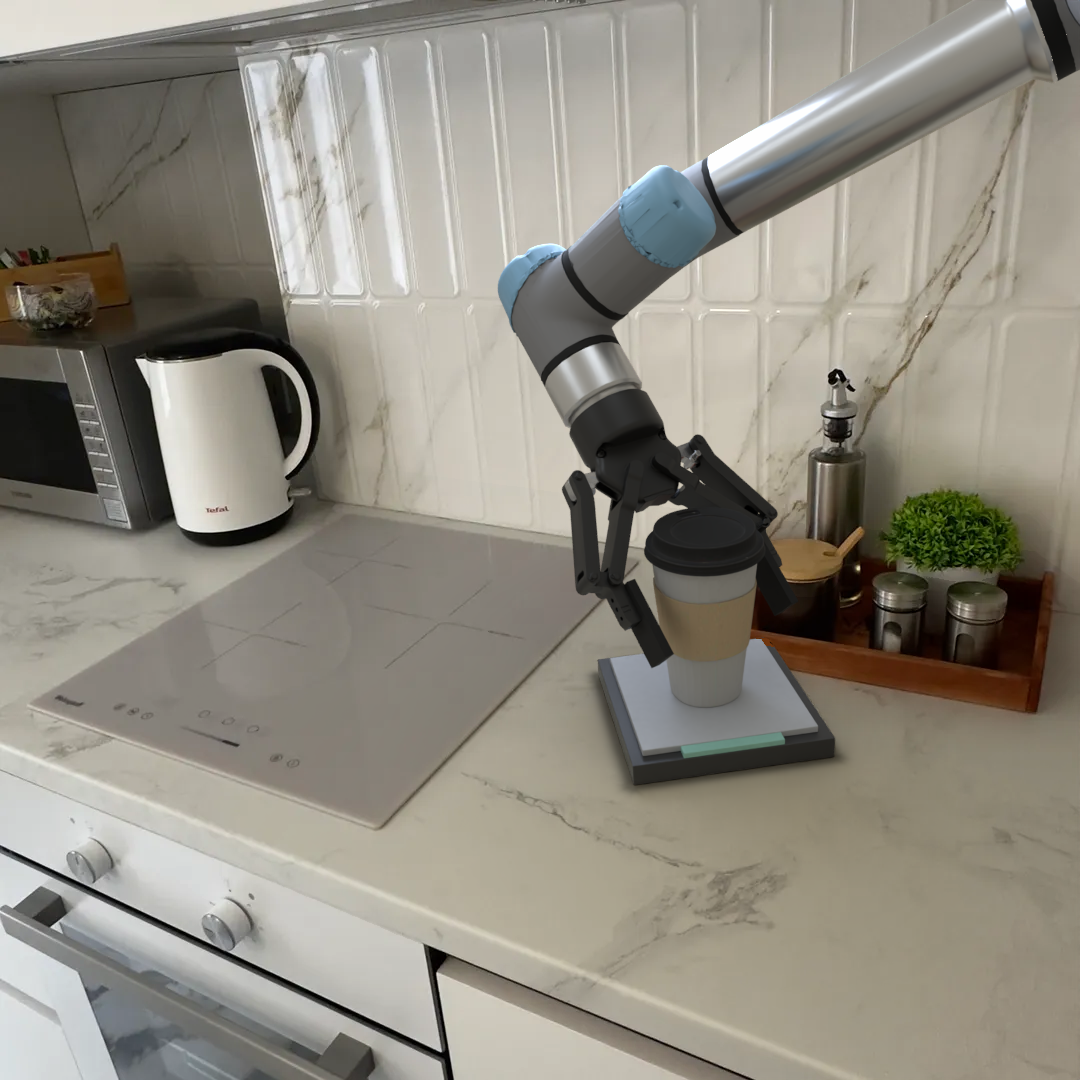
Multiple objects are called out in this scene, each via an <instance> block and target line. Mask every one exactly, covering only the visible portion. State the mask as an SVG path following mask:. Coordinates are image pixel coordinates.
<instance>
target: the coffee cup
mask: <svg viewBox="0 0 1080 1080" xmlns="http://www.w3.org/2000/svg"><path fill="white" fill-rule="evenodd" d="M644 544H645V546H644V548H643V554H644V557H645V559H646V560H647V562H648V563H650V564H651V565H652V566H651V567H652V572H653V578H652V581H653V582H652V585H653V586H652V587H653V591H654V598H655V606H656V612H657V620H658V624H659V626H660V628H661V630H662V632H663V634H664V636H665V638H666V639H667V641H668V643H669V645H670V647H671V649H672V651H673V653H674V654H673V655H672V656H671V657H669V658H668V659H667V660H666V661H667V667H668V674H669V680H670V687H671V690H672V693H673V694H674V695H675V697H677V698H678V699H679V700H680V701H682V702H683V703H685V704H688V705H690V706H694V707H701V708H710V707H717V706H721V705H725V704H727V703H730V702H732V701H733V700H735V699H736V698H737V697H738V696H739V695H740V693H741V688H742V681H743V673H744V665H745V658H746V650H747V646H748V644H749V641H750V639H751V632H752V625H753V618H754V617H753V616H754V609H755V608H754V607H755V601H756V593H757V586H758V585H757V582H756V578H755V577H756V569H757V563H758V562H760V561H761V560H762V559H763V557H764V555H765V552H766V548H765V545H764V539H763V536H762V535H761V533H760V532H759V531H758V530H756V526H755V524H754V522H753V520H752V519H751V518H749V517H748V516H746V515H744V514H742V513H740V512H737V511H734V510H730V509H724V508H716V507H696V508H682V509H678V510H674V511H672V512H668V513H666V514H664V515H662V516H661V517H659V518H658V519H657V520H656V521H655V522H654V524H653V527H652V531H651V532H650V533H648V535H647V536H646V538H645V541H644Z"/></svg>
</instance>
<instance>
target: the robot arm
mask: <svg viewBox="0 0 1080 1080" xmlns="http://www.w3.org/2000/svg"><path fill="white" fill-rule="evenodd" d="M1041 28H1042V29H1041ZM1042 31H1043V32H1042ZM1043 34H1044V35H1043ZM1066 34H1067V35H1066ZM1044 36H1045V38H1044ZM1051 56H1052V57H1051ZM1052 59H1053V61H1052ZM1078 71H1080V0H970V1H969V2H966V3H965V4H964V5H962V6H960V7H958V8H956V9H955V10H953V11H951V12H949V13H948V14H946V15H945V16H942V17H941V18H939V19H938V20H936V21H934V22H933V23H930V24H929V25H928V26H926V27H924V28H922V29H921V30H919V31H917V32H916V33H914V34H913V35H911V36H909V37H907V38H906V39H904V40H902V41H901V42H899V43H898V44H896V45H894V46H892V47H891V48H889V49H886V50H885V51H884V52H882V53H880V54H879V55H877V56H875V57H874V58H872V59H869V61H866V62H865V63H864V64H862V65H860V66H858V67H857V68H854V69H853V70H852V71H850V72H848V73H847V74H845V75H843V76H842V77H840V78H838V79H836V80H835V81H833V82H831V83H829V84H828V85H826V86H825V87H822V88H821V89H820V90H817V91H816V92H814V93H813V94H811V95H809V96H807V97H806V98H804V99H803V100H801V101H799V102H798V103H796V104H794V105H792V106H791V107H789V108H787V109H786V110H784V111H782V112H780V113H779V114H778V115H775V116H773V117H772V118H770V119H769V120H767V121H765V122H764V123H761V124H760V125H758V126H757V127H755V128H754V129H752V130H750V131H748V132H747V133H745V134H743V135H742V136H740V137H738V138H736V139H735V140H733V141H731V142H730V143H728V144H726V145H725V146H723V147H721V148H720V149H718V150H716V151H715V152H713V153H711V154H710V155H709V156H707V157H705V158H703V159H702V160H699V161H698V162H695V163H694V164H692V165H690V166H689V167H687V168H685V169H684V170H682V171H679V170H676V169H674V168H673V167H671V166H669V165H666V164H665V165H663V164H662V165H661V164H660V165H657V166H654V167H652V168H651V169H650V170H648V171H647V172H646V174H644V175H643V176H641V178H639V180H637V181H636V182H634V183H633V184H631V185H629V186H628V187H627V188H626V189H625V190H624V191H623V192H622V195H621V196H620V197H619V198H618V199H617V200H616V201H615V202H614V203H613V204H612V205H611V206H610V207H609V208H608V209H607V210H606V211H605V212H604V213H602V215H601V216H600V217H599V218H598V219H597V220H596V221H595V222H594V223H593V224H592V225H591V226H590V227H589V228H587V230H586V231H585V232H584V233H583V234H582V235H581V236H580V237H579V238H578V239H577V240H576V241H575V242H574V243H573V244H572V245H570V246H569V247H568V248H567V249H566V248H565V247H563V246H561V245H559V244H556V243H543V244H538V245H535V246H532V247H530V248H529V249H527V251H526V252H525V253H523V254H522V255H516V256H515V257H514V258H512V259H511V260H510V261H509V263H507V265H506V266H505V268H504V269H503V270H502V271H501V274H500V275H499V278H498V282H497V294H498V298H499V301H500V302H501V306H502V307H503V310H504V311H505V314H506V316H507V319H508V322H509V326H510V328H511V330H512V332H513V333H514V334H515V336H516V337H517V338H518V340H519V341H520V343H521V345H522V347H523V349H524V351H525V352H526V355H527V356H528V359H529V360H530V362H531V364H532V365H533V367H534V369H535V371H536V373H537V375H538V377H539V378H540V381H541V382H542V384H543V386H544V389H545V390H546V391H545V392H546V393H547V395H548V397H549V398H550V400H551V402H552V404H553V406H554V408H555V410H556V412H557V413H558V415H559V417H560V419H561V421H562V423H563V425H564V426H565V427H566V428H568V429H569V433H568V435H569V438H570V439H571V442H572V444H573V445H574V447H575V449H576V451H577V453H578V455H579V457H580V459H581V461H582V462H583V464H584V466H585V467H587V469H589V471H590V472H587V473H584V471H582V470H579V469H575V470H574V471H572V473H571V474H570V475H569V477H567V480H566V481H565V482H564V484H563V486H562V487H561V493H562V495H563V497H564V499H565V502H566V504H567V506H568V509H569V511H570V512H569V513H570V514H569V516H570V528H571V530H570V531H571V543H572V557H573V571H574V587H575V591H576V593H577V594H579V595H580V596H587V595H588V594H594V595H595V596H596V598H597V599H600V600H607V603H608V605H609V607H610V609H611V611H612V613H613V615H614V617H615V619H616V620H617V623H618V625H619V627H620V628H621V629H623V630H624V631H625V632H626V631H628V630H631V632H632V633H633V636H634V638H635V639H636V641H637V643H638V645H639V647H640V649H641V651H642V654H643V653H644V655H645V657H646V659H647V661H648V663H649V664H650V666H651V668H654V667H656V666H658V665H660V664H661V663H663V662H664V661H665V660H667V659H668V658H669V657H671V656H672V655H673V654H674V653H673V651H672V649H671V647H670V645H669V643H668V641H667V639H666V638H665V636H664V634H663V632H662V630H661V628H660V626H659V621H657V620H658V619H656V617H655V615H654V613H653V611H652V609H651V607H650V604H649V603H648V601H647V599H646V598H645V595H644V593H643V591H642V590H641V588H640V585H639V584H638V582H637V580H636V578H633V579H630V580H628V581H626V582H625V583H624V580H625V574H626V573H625V572H626V566H627V561H628V553H629V547H630V543H631V535H632V528H633V522H634V515H635V514H638V513H640V512H644V511H646V509H648V508H649V507H659V506H662V505H664V504H667V502H670V503H671V504H673V505H675V506H678V507H679V506H682V507H685V509H688V508H696V507H716V508H724V509H730V510H734V511H737V512H740V513H742V514H744V515H746V516H748V517H749V518H751V519H752V520H753V522H754V524H755V526H756V530H758V531H759V532H760V533H761V535H762V536H763V539H764V545H765V548H766V552H765V555H764V557H763V559H762V560H761V561H760V562H758V563H757V569H756V577H755V578H756V582H757V585H756V586H757V587H758V589H759V591H760V592H761V595H762V596H763V598H764V600H765V601H766V604H767V605H768V607H769V609H770V610H771V612H772V614H773V616H775V617H776V616H778V615H781V614H783V613H784V612H786V611H787V610H788V609H790V608H791V607H793V606H794V605H795V604H797V603H798V602H799V599H798V598H797V596H796V595H795V593H794V590H793V589H792V587H791V586H790V583H789V582H788V580H787V578H786V576H785V575H784V573H783V571H782V570H781V567H782V566H783V562H782V558H781V556H780V555H779V553H778V550H776V547H775V546H774V544H773V542H772V540H771V539H770V537H769V535H768V533H767V529H768V527H770V525H771V524H772V522H773V521H774V520H775V519H777V517H778V516H779V514H778V510H777V509H776V508H775V506H773V505H772V504H771V503H770V502H769V501H768V500H766V498H764V496H762V495H761V494H760V493H759V492H758V491H756V490H755V489H754V488H753V487H752V486H751V485H750V484H748V483H747V482H746V481H745V479H743V477H741V476H740V475H739V474H738V473H736V471H734V470H733V469H732V468H731V467H730V466H729V465H727V463H725V462H724V461H723V460H722V459H721V458H719V456H718V455H716V454H715V452H714V451H713V449H712V448H711V446H710V445H709V443H708V441H707V440H706V438H705V437H704V436H703V435H702V434H698V433H697V434H694V435H693V436H692V437H691V439H690V440H688V442H685V443H683V444H680V445H678V446H677V445H675V444H674V443H673V442H671V440H670V439H669V438H668V436H667V434H666V429H665V423H664V421H663V419H662V417H661V415H660V414H659V412H658V409H657V408H656V406H655V404H654V402H653V400H652V399H651V397H650V395H649V394H648V392H647V391H645V390H643V389H642V388H643V382H642V380H641V378H640V376H639V375H638V373H637V371H636V370H635V368H634V366H633V364H632V363H631V361H630V359H629V357H628V356H627V354H626V352H625V351H624V348H623V347H622V345H621V343H620V342H619V340H618V338H617V336H616V334H615V331H614V329H613V327H614V326H615V325H616V324H618V323H619V322H620V321H621V320H623V319H624V318H625V317H627V315H629V313H630V312H631V311H632V310H633V309H635V308H636V307H637V306H638V305H640V304H641V303H642V302H643V301H644V300H646V299H647V298H648V297H649V296H651V294H653V293H654V292H655V291H657V289H659V288H660V287H661V286H662V285H663V284H665V283H666V282H667V281H668V280H670V279H671V278H672V277H673V276H675V275H676V274H677V273H679V272H680V271H681V270H683V269H684V268H686V267H687V266H688V265H690V264H691V263H692V262H693V261H695V260H697V259H699V258H700V257H702V256H704V255H705V254H708V253H709V252H711V251H713V250H715V249H717V248H719V247H720V246H723V245H724V244H726V243H728V242H730V241H733V240H734V239H735V238H737V237H739V236H740V235H742V234H744V233H746V232H748V231H749V230H751V229H753V228H755V227H757V226H759V225H761V224H762V223H764V222H767V221H768V220H771V219H772V218H774V217H776V216H778V215H780V214H782V213H783V212H785V211H787V210H790V209H791V208H793V207H795V206H797V205H799V204H800V203H803V202H804V201H806V200H808V199H810V198H812V197H813V196H815V195H817V194H819V193H821V192H823V191H825V190H827V189H829V188H830V187H833V186H835V185H837V184H838V183H840V182H842V181H844V180H846V179H848V178H850V177H851V176H854V175H855V174H857V173H859V172H861V171H863V170H865V169H866V168H869V167H870V166H872V165H875V164H876V163H878V162H880V161H882V160H884V159H886V158H887V157H889V156H891V155H893V154H895V153H896V152H899V151H900V150H903V149H904V148H906V147H908V146H910V145H912V144H914V143H916V142H917V141H920V140H922V139H924V138H925V137H927V136H929V135H931V134H933V133H935V132H936V131H938V130H940V129H942V128H944V127H946V126H949V125H950V124H952V123H954V122H955V121H957V120H959V119H961V118H963V117H966V116H967V115H968V114H970V113H973V112H974V111H977V110H979V109H980V108H982V107H984V106H986V105H987V104H990V103H991V102H994V101H995V100H997V99H999V98H1001V97H1003V96H1005V95H1006V94H1008V93H1010V92H1013V91H1014V90H1016V89H1018V88H1020V87H1022V86H1024V85H1026V84H1028V83H1030V82H1032V81H1042V82H1044V83H1045V82H1046V83H1050V84H1055V83H1057V82H1059V81H1061V80H1063V79H1065V78H1067V77H1069V76H1070V75H1072V74H1074V73H1076V72H1078ZM1056 74H1057V75H1056ZM682 464H683V465H682ZM680 484H681V487H679V486H680ZM596 490H597V491H598V492H600V493H601V494H602V495H604V496H606V497H607V498H609V499H610V504H609V510H608V515H607V521H608V526H607V530H606V531H607V532H606V537H605V544H604V549H603V555H602V560H601V559H600V550H599V548H600V547H599V537H598V525H597V512H596V502H595V501H596V500H595V495H596V493H597V491H596ZM600 560H601V561H600Z"/></svg>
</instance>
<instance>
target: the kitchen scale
mask: <svg viewBox="0 0 1080 1080" xmlns="http://www.w3.org/2000/svg"><path fill="white" fill-rule="evenodd" d="M597 673H598V678H599V681H600V684H601V688H602V690H603V694H604V697H605V700H606V704H607V706H608V710H609V712H610V715H611V718H612V721H613V725H614V729H615V732H616V734H617V737H618V740H619V744H620V746H621V751H622V754H623V756H624V759H625V762H626V764H627V765H626V766H627V768H628V771H629V775H630V778H631V781H632V784H633V786H637V785H644V784H651V783H657V782H666V781H672V780H679V779H686V778H694V777H700V776H707V775H715V774H722V773H728V772H729V773H730V772H735V771H740V770H741V771H743V770H749V769H758V768H763V767H771V766H778V765H785V764H791V763H798V762H807V761H812V760H813V761H814V760H819V759H827V758H833V757H835V749H836V737H835V735H834V734H833V732H832V731H831V729H830V728H829V726H828V725H827V723H826V722H825V721H824V718H823V717H822V716H821V715H820V713H819V712H818V710H817V709H816V707H815V706H814V704H813V703H812V701H811V699H810V698H809V696H808V695H807V694H806V692H805V691H804V689H803V688H802V686H801V685H800V683H799V681H798V680H797V678H796V677H795V675H794V674H793V672H792V671H791V669H790V668H789V667H788V665H787V663H786V662H785V661H784V659H783V657H782V655H780V653H779V651H778V650H777V649H776V647H775V646H774V647H771V646H766V645H765V644H764V642H763V641H762V639H756V638H750V641H749V644H748V646H747V650H746V658H745V665H744V673H743V681H742V688H741V693H740V695H739V696H738V697H737V698H736V699H735V700H733V701H732V702H730V703H727V704H725V705H721V706H717V707H710V708H701V707H694V706H690V705H688V704H685V703H683V702H682V701H680V700H679V699H678V698H677V697H675V695H674V694H673V693H672V690H671V687H670V680H669V674H668V667H667V661H666V660H665V661H664V662H663V663H661V664H660V665H658V666H656V667H654V668H651V666H650V664H649V663H648V661H647V659H646V657H645V655H644V653H643V652H642V653H636V654H628V655H621V656H613V657H606V658H599V659H597Z"/></svg>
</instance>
